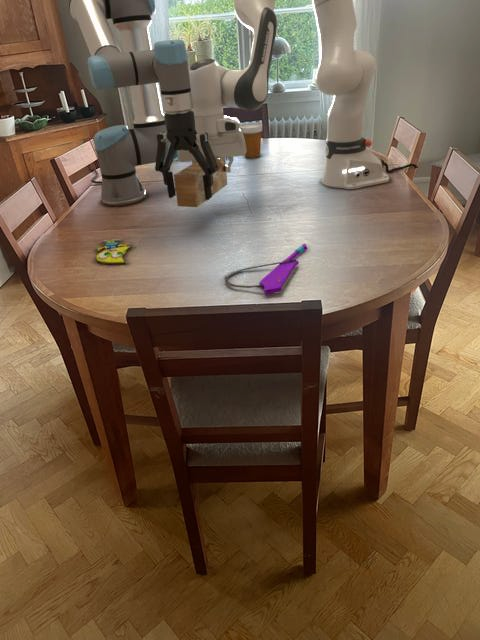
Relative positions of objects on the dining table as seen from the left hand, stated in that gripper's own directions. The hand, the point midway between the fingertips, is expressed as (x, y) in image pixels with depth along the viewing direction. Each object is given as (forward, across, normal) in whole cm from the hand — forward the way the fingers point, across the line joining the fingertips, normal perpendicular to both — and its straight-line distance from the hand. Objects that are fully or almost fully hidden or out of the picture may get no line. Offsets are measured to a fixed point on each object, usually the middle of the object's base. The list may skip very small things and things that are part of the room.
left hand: (190, 197), depth 132 cm
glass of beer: (+10, -11, +80) cm, 81 cm away
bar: (+2, 0, +8) cm, 8 cm away
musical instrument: (+10, +28, -19) cm, 36 cm away
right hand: (-2, 0, +17) cm, 17 cm away
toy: (+10, -16, -18) cm, 26 cm away
